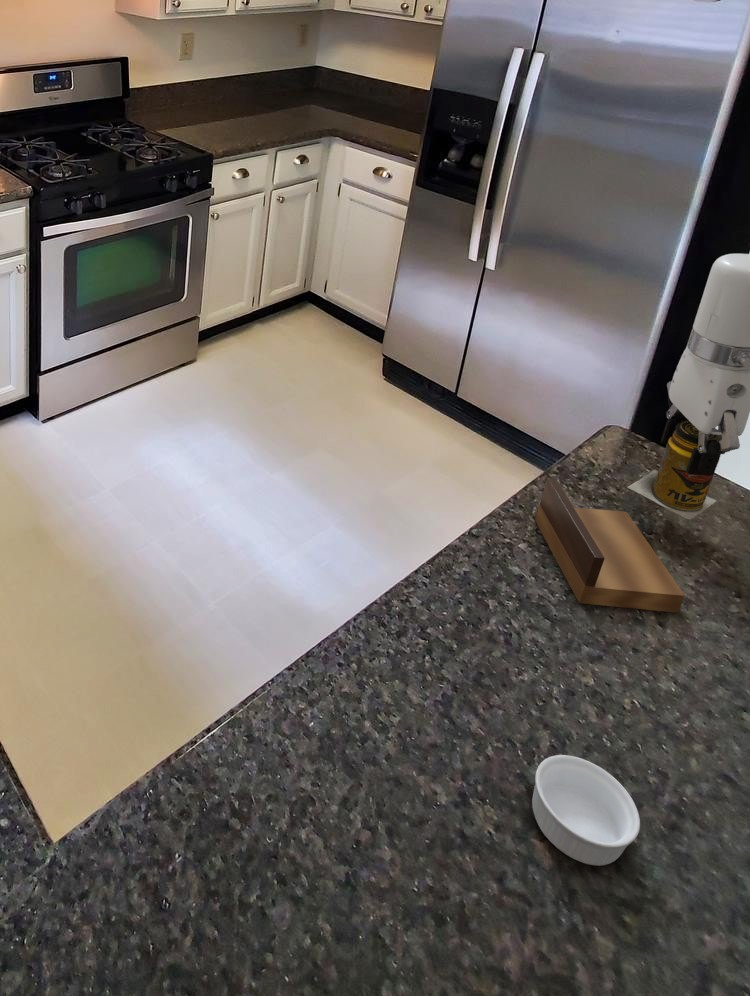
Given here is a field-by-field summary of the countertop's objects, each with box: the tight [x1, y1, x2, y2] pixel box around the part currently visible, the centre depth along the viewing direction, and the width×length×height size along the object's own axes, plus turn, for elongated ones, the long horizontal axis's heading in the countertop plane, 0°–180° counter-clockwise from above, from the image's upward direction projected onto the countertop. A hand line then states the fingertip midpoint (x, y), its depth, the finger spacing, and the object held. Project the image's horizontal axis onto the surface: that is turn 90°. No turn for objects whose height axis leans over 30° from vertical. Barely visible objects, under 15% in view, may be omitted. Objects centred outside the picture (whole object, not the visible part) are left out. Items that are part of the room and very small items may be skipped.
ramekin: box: [531, 754, 641, 866], centre depth 78 cm, size 9×9×4 cm
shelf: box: [534, 477, 686, 614], centre depth 109 cm, size 12×16×8 cm
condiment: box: [627, 420, 721, 520], centre depth 113 cm, size 7×8×12 cm
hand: (686, 457), depth 112 cm, fingers closed on condiment, 6 cm apart
